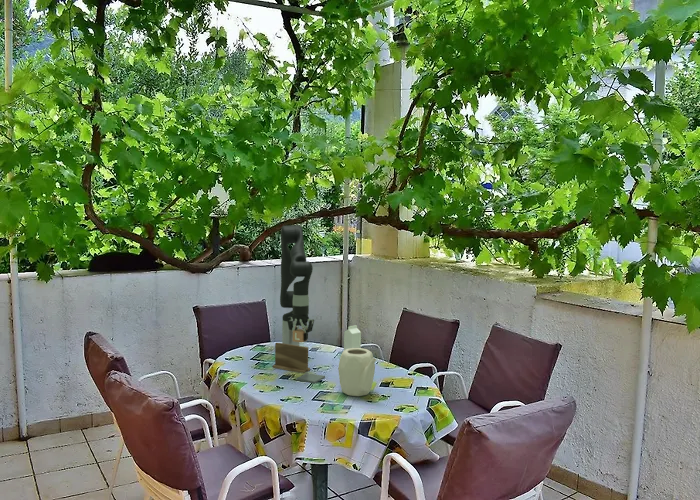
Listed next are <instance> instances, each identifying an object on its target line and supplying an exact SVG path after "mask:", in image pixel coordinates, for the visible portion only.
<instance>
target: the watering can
mask: <svg viewBox="0 0 700 500" xmlns="http://www.w3.org/2000/svg"><path fill="white" fill-rule="evenodd" d="M376 362H377V359H376V358H374V354H373V352H372V351H370V350H369V349H366V348H362V347H361V348H349V349H346V350H344V349H343V350H342V353H341V355H340V358H339V361H338V368H337V369H338V376H339V384H340V388H341V392H342V393H344V394H345V395H348V396H351V397H352V396H353V397H362V396H368V395H369V393H370V392H371V390H372V388H373V383H374V378H375V372H376V371H375V369H376Z"/></svg>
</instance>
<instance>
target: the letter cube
mask: <svg viewBox="0 0 700 500" xmlns="http://www.w3.org/2000/svg"><path fill="white" fill-rule="evenodd" d="M293 341H294V342H299V343H305V342H306V341H304V331H303V329H302V328H299V329H297V330H294V331H293Z"/></svg>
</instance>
